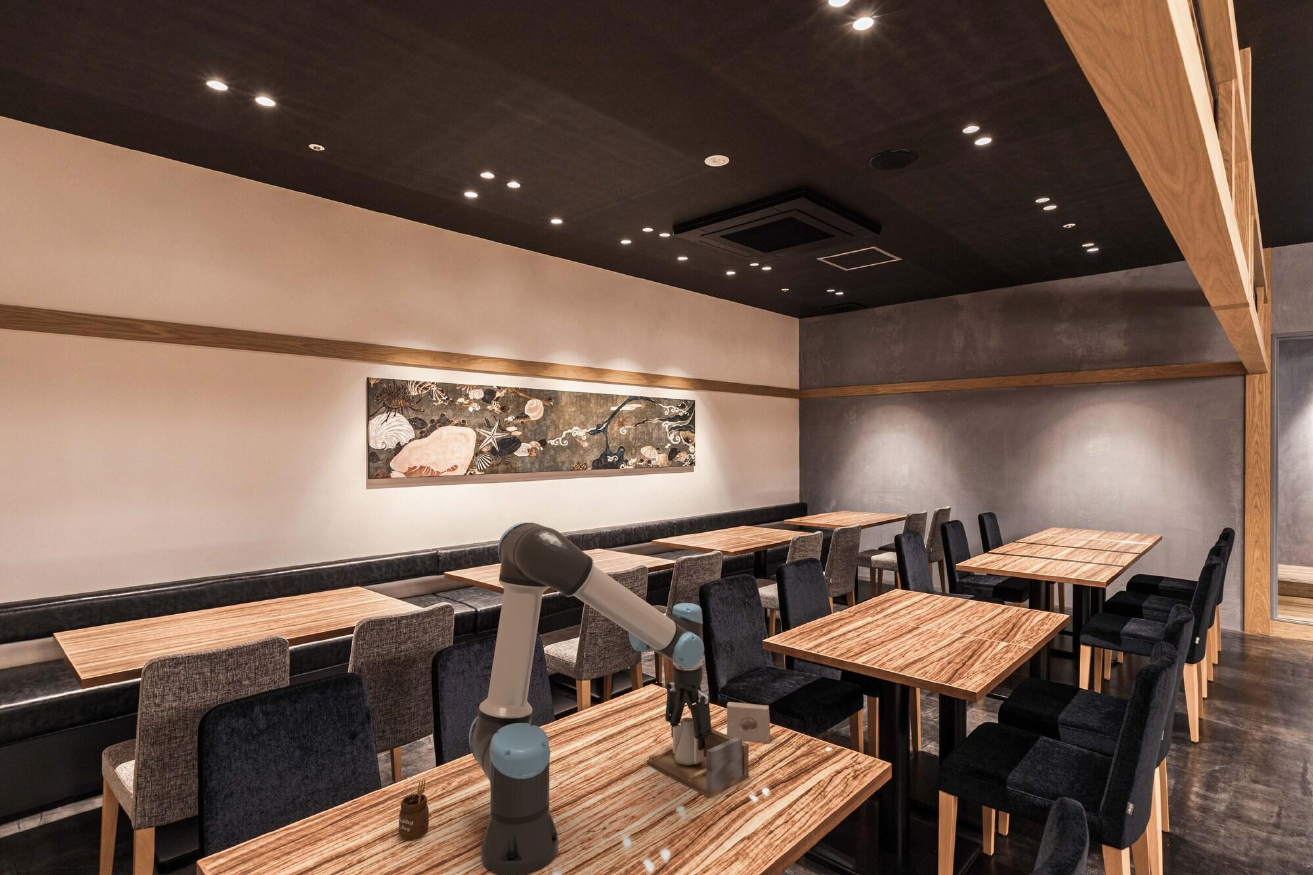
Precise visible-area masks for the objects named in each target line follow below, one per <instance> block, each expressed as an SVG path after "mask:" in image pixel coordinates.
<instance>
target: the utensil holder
mask: <svg viewBox="0 0 1313 875" xmlns="http://www.w3.org/2000/svg"><path fill="white" fill-rule="evenodd" d="M412 778H413V779H415V777H413V776H408V777H406V781H407V782H406V781H404V784H406V783H407V786H409V785H410V784H409V783H410V782H409V781H410V780H409V779H411V783H413V782H414V783H415V788H414V787H412V794H410V790H406V788H407V786H404V790H405V791H404V793H407V791H408V795H406V796H405V797H403V798H402V800H401V803H400V810H399V814H398V834H399V837H400V838H401V839H403V840H405V841H413V840H414V841H415V840H417V839H420V838H422V837H424V836H425V835H426V834H427V833H428V830H429V826H430V825H429V824H430V822H429V821H430V820H429V819H430V811H429V805H428V798H427V795H425V794H424V793H425V789H426V788H425V787H426V780H427V779H426V778H424V779H422V780H421V781H419V782H418V785H417V783H416V780H414V781H413V779H412ZM414 789H415V790H414ZM415 791H416V792H415Z"/></svg>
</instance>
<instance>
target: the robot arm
mask: <svg viewBox="0 0 1313 875" xmlns="http://www.w3.org/2000/svg"><path fill="white" fill-rule="evenodd" d="M497 554H498V559H499V561H500V569H499V575H498V583H499V584H500V585H501V586H502V587H503V595H502V601H501V602H502V603H501V608H500V614H499V615H500V616H499V622H498V628H497V635H496V640H495V647H494V655H493V660H492V668H491V673H490V674H491V675H490V681H489V688H488V694H487V698H485V699H484V700H483V701H482V702H480V704H479V707H478V713H477V716H476V717H475V718H474V719H473V721H472V723H471V725H470V729H469V733H468V743H469V744H468V745H469V749H470V751H471V754H472V756H473V758H474V760H475V761H476V762H477V764H478V765H479V767H480V768H481V770H482V771H483V773H484V775H485V776H486V777H487V779H488V781H489V784H490V786H489V787H490V789H489V790H490V791H489V792H490V795H489V796H490V800H489V802H490V803H489V804H490V806H489V807H490V813H489V815H490V816H489V820H488V823H487V825H486V829H485V832H484V837H483V839H482V841H481V848H480V849H481V850H480V856H481V864H483V866H484V868H486V869H487V870H489V871H490V872H492V873H495V874H498V875H526V874H531V873H534V872H536V871H538V870H541V869H542V868H544V867H546V866H547V865H549V864H550V863H551V862H552V861H553V860H554V859H555V858H556V856H557V854H558V852H559V851H558V850H559V836H558V835H559V834H558V831H557V828H556V825H555V823H554V822H555V821H554V819H553V816H552V813H551V810H550V764H551V763H550V759H551V750H550V749H551V747H550V741H549V737H548V735H547V733H546V732H545V730H544V729H542V727H540V726H538V725H535V724H534V725H532V724H531V723H532V715H533V707H532V706H531V704H530V703H529V702H528V697H529V689H530V683H531V682H530V681H531V674H532V669H533V668H532V666H533V661H534V654H535V646H536V641H537V634H538V628H539V620H540V613H541V607H542V601H543V600H542V599H543V594H544V592H546V591H547V590H548V589H549V588H551V589H553V590H555V591H557V592H559V593H560V594H562V595H563V596H565V597H568V598H569V597H575V598H577V599H578V600H580V601H581V602H582V603H584V604H586V605H588V606H589V607H590V608H592V609H593V610H595V611H597V612H598V613H600V614H601V615H602V616H604V617H605V618H607V619H608V620H610V621H612V623H615V624H616V625H618V626H619V627H621V628H622V629H623V630H625V631H627V632H628V640H629V643H630V645H631V647H632V648H633V650H634V651H636V652H647V651H653V652H655V653H656V654H659V655H660V656H662V657H665V658H667V659H668V660H670V661H672V664H673V667H672V680H673V681H672V682H669V683H666V686H665V687H666V692H667V693H666V705H665V716H664V718H665V719H664V720H665V721H666V722H669V724H670V726H671V727H670V729H671V731H670V732H671V738H672V746H673V753H676V750H677V747H678V744H679V741H680V738H681V735H682V725H681V723H682V722H681V719H682V716H683V713H684V709H685V707H686V705H687V708H688V710H690V714H691V718H692V719H693V723H694V727H695V732H696V736H694V763H695V764H697V763H699V762H701V761H704V749H705V737H707V736H709V735H711V734H712V730H711V729H712V722H711V721H712V720H711V708H710V703H711V695H710V694H706V693H703V690H702V688H701V684H702V682H703V667H702V665H703V657H704V653H705V646H704V642H703V624H704V621H703V613H702V612H703V610H702V608H701V606H700V605H698V604H697V603H690V602H689V603H688V602H683V603H682V602H681V603H677V604H675V605H673V607H672V611H671V612H672V614H668V615H665V614H664V613H662V612H661V611H660V610H658V609H657V608H656V607H654V606H653V605H651V604H650V603H649V602H647V601H646V600H644V599H643V598H641V597H640V596H638V595H637V594H636V593H634V592H633V591H631V590H630V589H629V588H627V587H625V586H624V585H623V584H621V583H619V581H616V580H615V579H614V578H612V577H611V576H610V575H608V574H607V573H605V572H604V571H603V570H601V569H600V568H599V567H597V566H595V562H594V559H593V558H592V557H591V556H589V554H587V553H586V552H584V551H583V550H582V549H580V548H579V547H578V546H577V545H575V543H573V542H572V541H571V540H570V539H568V538H567V537H566V536H564V534H562V533H561V532H560V531H558V530H556V529H554V528H553V527H552V528H551V527H547V526H544V525H541V524H539V523H537V522H536V523H535V522H528V521H527V522H526V521H525V522H520V523H519V522H518V523H515V524H513V525H512V526H510V527H509V528H508V529H506V530H505V531H504V532H503V533H502V535H501V536H500V538H499V541H498V546H497ZM700 731H701V732H700Z"/></svg>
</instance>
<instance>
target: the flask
mask: <svg viewBox="0 0 1313 875" xmlns="http://www.w3.org/2000/svg"><path fill="white" fill-rule="evenodd" d="M681 719H682V723H683V729H682V735H681V738H680V741H679V744H678V747H677V750H676V753H675V756H674V759H675V761H676V763H680V764H685V765H692V764H695V763H694V730H693V719H692V717H683V718H681ZM697 764H699V763H697Z"/></svg>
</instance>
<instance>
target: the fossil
mask: <svg viewBox="0 0 1313 875" xmlns="http://www.w3.org/2000/svg"><path fill="white" fill-rule="evenodd" d="M770 722H771V719H770V707H769V705H763V704H753V703H745V702H732V701H728V702H727V704H726V735H728V736H730V737H733V738H735V737H739V738H741V739H742V742H748V743H749V742H750V743H751V742H752V743H759V744H763V743H764V744H771V738H772V737H771V724H770Z"/></svg>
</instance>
